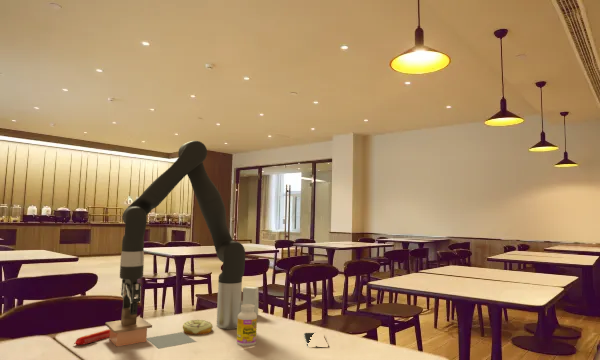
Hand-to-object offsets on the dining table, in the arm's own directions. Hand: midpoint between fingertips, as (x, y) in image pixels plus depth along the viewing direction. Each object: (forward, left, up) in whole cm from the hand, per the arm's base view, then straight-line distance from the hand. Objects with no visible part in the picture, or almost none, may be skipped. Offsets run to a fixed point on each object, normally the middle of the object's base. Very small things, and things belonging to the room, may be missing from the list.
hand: (129, 311), depth 137 cm
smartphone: (-54, +36, -10) cm, 66 cm away
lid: (0, 0, -5) cm, 5 cm away
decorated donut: (-24, +3, -10) cm, 26 cm away
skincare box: (-53, -7, -10) cm, 54 cm away
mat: (-12, +8, -10) cm, 17 cm away
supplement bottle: (-32, +25, -10) cm, 42 cm away
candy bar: (+8, -7, -10) cm, 15 cm away
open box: (0, 0, -10) cm, 10 cm away
